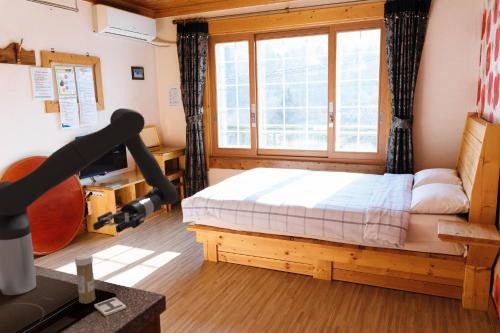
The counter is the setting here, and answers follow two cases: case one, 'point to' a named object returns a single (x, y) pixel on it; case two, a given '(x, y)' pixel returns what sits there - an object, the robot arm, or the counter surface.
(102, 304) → the letter card
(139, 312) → the counter surface
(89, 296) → the sprinkles bottle
